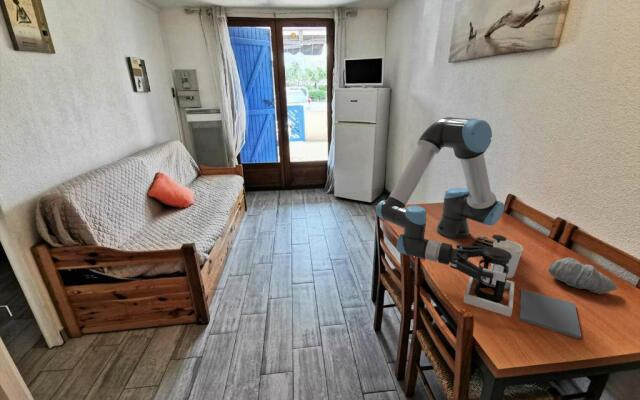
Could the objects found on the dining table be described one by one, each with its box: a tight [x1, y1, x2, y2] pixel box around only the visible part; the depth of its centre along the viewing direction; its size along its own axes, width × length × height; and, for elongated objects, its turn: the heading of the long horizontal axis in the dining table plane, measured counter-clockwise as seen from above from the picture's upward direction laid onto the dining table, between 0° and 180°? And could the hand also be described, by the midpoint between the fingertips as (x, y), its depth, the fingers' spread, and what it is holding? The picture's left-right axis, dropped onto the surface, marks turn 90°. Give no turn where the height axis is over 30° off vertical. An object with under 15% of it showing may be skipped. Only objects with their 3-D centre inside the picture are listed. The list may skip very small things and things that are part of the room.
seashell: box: [547, 257, 618, 295], centre depth 110 cm, size 16×15×10 cm
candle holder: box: [490, 239, 524, 279], centre depth 119 cm, size 10×10×12 cm
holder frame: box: [463, 274, 515, 318], centre depth 107 cm, size 14×17×3 cm
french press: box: [473, 234, 512, 304], centre depth 103 cm, size 12×9×23 cm
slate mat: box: [519, 289, 582, 340], centre depth 98 cm, size 15×17×1 cm
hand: (505, 267), depth 101 cm, fingers open, 13 cm apart
